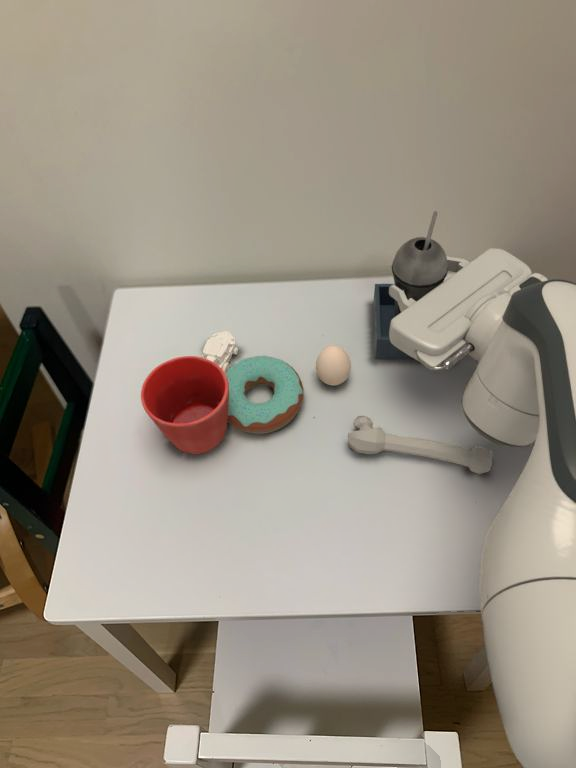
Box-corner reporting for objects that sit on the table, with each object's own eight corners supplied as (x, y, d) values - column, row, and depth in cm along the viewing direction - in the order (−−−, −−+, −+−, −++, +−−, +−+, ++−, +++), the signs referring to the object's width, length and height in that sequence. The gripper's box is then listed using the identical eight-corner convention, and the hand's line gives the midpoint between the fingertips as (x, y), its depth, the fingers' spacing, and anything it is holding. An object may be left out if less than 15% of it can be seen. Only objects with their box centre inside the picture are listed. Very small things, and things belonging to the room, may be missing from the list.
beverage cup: (376, 318, 88) (384, 209, 72) (417, 299, 90) (434, 188, 73) (404, 352, 84) (419, 244, 68) (446, 331, 86) (471, 221, 70)
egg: (316, 394, 83) (315, 365, 77) (315, 366, 86) (314, 336, 80) (351, 392, 83) (352, 363, 77) (349, 365, 85) (350, 335, 80)
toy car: (192, 377, 86) (187, 359, 83) (214, 336, 90) (209, 317, 87) (223, 384, 85) (218, 367, 82) (243, 342, 89) (239, 324, 86)
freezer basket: (443, 304, 91) (448, 283, 87) (450, 360, 85) (455, 339, 81) (373, 304, 92) (374, 283, 88) (375, 359, 86) (376, 339, 82)
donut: (202, 398, 84) (197, 381, 80) (269, 353, 88) (266, 336, 84) (252, 455, 78) (249, 440, 75) (321, 405, 82) (321, 388, 79)
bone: (343, 454, 77) (343, 440, 74) (354, 421, 80) (354, 406, 77) (484, 493, 73) (491, 479, 70) (490, 457, 76) (497, 442, 73)
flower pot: (193, 384, 85) (178, 341, 77) (254, 420, 81) (245, 378, 73) (143, 438, 80) (122, 398, 73) (204, 479, 76) (189, 441, 68)
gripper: (435, 391, 72) (356, 328, 79) (541, 306, 79) (460, 254, 85) (443, 359, 67) (358, 294, 73) (556, 271, 73) (468, 218, 80)
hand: (414, 272), depth 79 cm, fingers closed on beverage cup, 6 cm apart
